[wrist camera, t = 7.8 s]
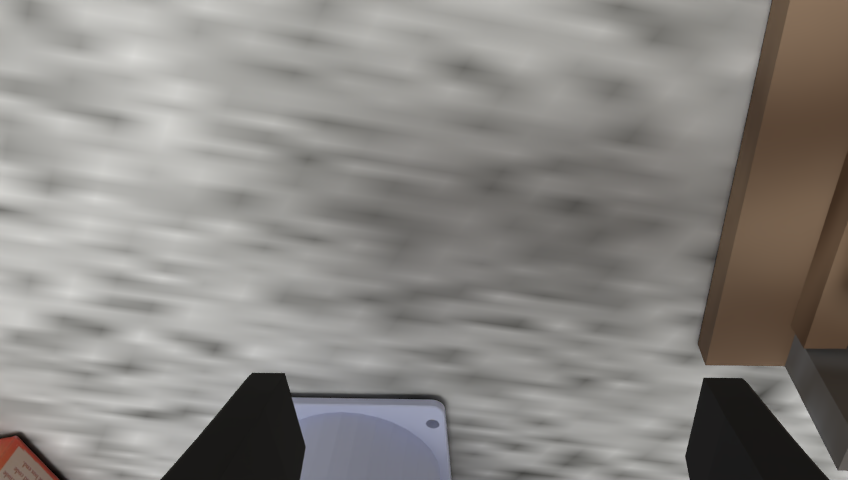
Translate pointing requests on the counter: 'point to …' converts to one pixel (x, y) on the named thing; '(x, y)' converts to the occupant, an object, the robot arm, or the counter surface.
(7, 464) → the cracker box
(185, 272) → the counter surface
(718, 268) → the cradle
